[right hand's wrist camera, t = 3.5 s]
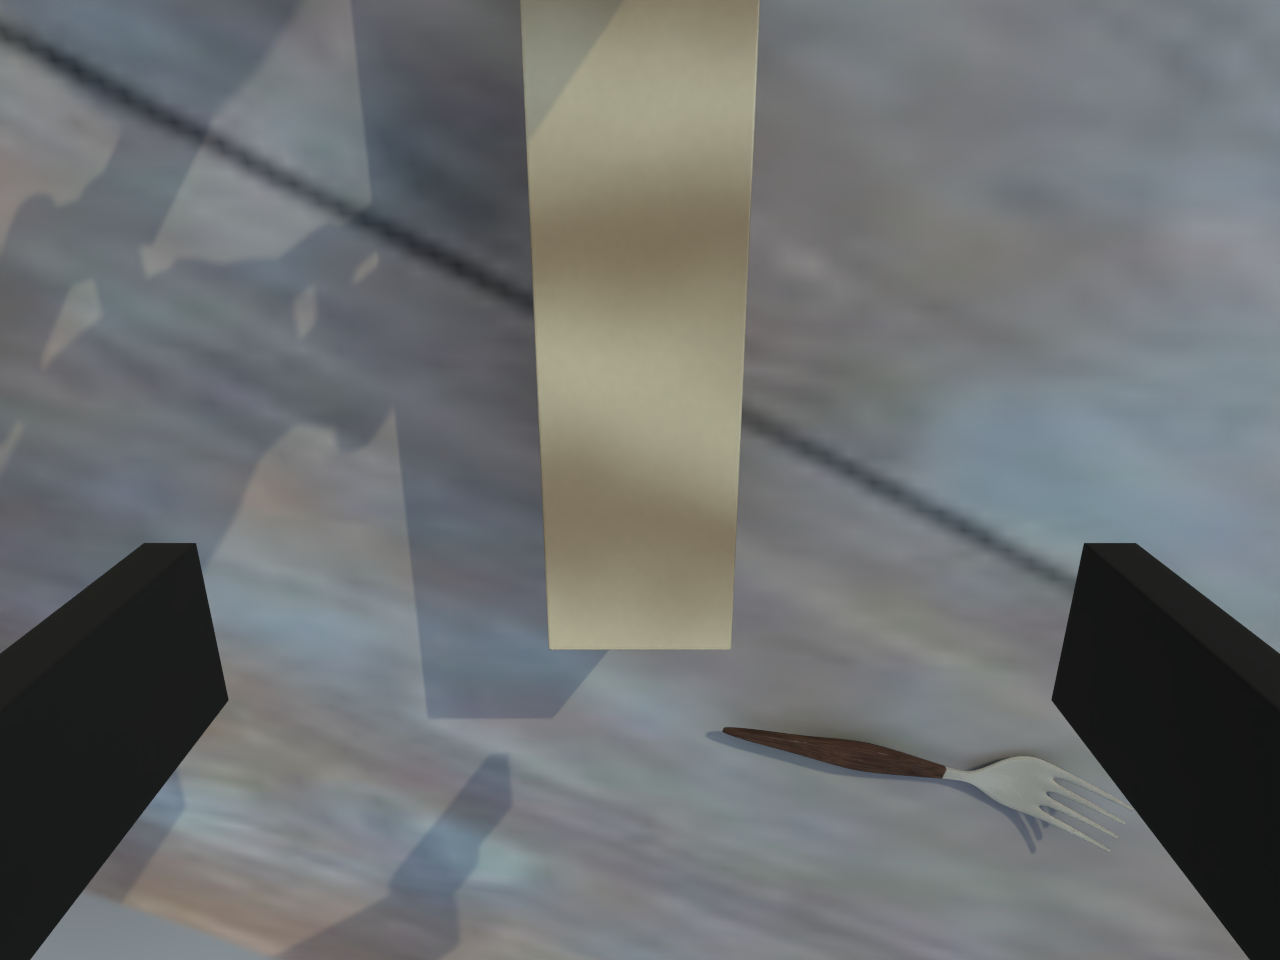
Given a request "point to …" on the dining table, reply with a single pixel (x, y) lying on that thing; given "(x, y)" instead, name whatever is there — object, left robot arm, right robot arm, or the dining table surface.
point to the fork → (951, 774)
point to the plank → (639, 310)
